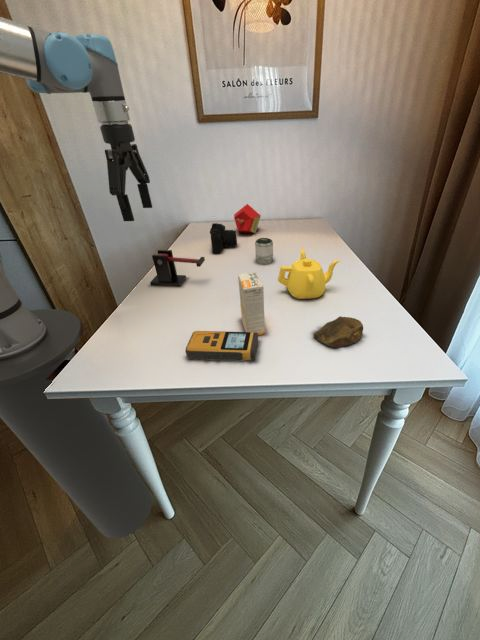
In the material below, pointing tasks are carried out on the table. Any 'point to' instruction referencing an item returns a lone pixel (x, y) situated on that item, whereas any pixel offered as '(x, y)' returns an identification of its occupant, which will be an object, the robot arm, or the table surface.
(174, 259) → the lever switch
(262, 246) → the glass jar
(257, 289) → the supplement box
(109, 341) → the table surface
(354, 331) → the decorative stone
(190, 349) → the electronic device
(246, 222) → the red pentagonal block
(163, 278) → the lever bracket
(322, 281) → the teapot
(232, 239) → the film camera
